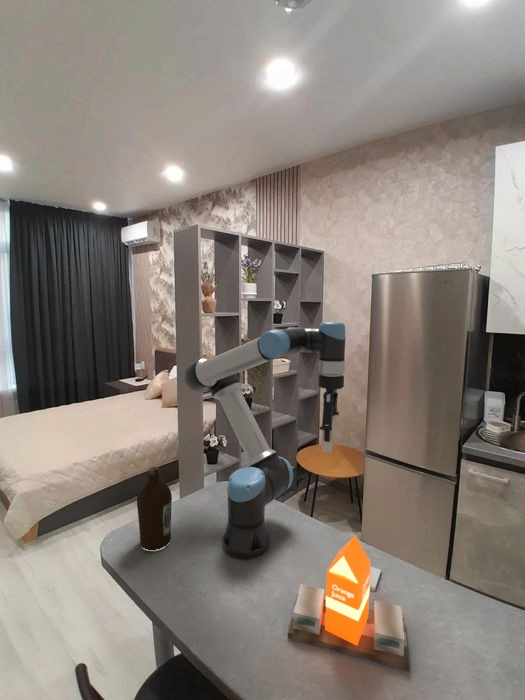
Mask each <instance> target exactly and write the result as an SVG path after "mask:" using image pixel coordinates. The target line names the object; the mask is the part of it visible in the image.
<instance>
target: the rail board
mask: <svg viewBox="0 0 525 700" xmlns="http://www.w3.org/2000/svg"><path fill="white" fill-rule="evenodd" d="M295 598H296V599H295V602H294V607H293V610H292V615H291V619H290V623H289V625H288V631H287V639H288V640H292V641H294V642H295V641H296V642H300V643H303V644H307V645H311V646H315V647H318V648H322V649H326V650H330V651H332V652H333V651H334V652H337V653H340V654H345V655H347V656H352V657H356V658H359V659H363V660H366V661H367V660H368V661H370V662H375V663H379V664H382V665H385V666H389V667H393V668H397V669H401V670H405V671H410V658H409V657H410V656H409V650H408V641H407V631H406V624H405V622H406V621H405V617H403V613H402V606H401V605H396V604H392V603H386V602H382V601H377V600H374V607H373V610H372V609H368V619H367V622H366V624H365V627H364V629H363V632H362V634H361V637H360V640H359V642H358V645H355V644H353V643H351V642H349V641H347V640H345V639H343V638H341V637H339V636H337V635H335V634H333V633H331V632H329V631H327V630H325V620H326V598H325V589H323V588H319V587H316V586H315V587H314V586H311V585H305V584H300V586H299V589H298V593H297V595H296V597H295Z"/></svg>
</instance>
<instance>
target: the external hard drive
mask: <svg viewBox="0 0 525 700" xmlns="http://www.w3.org/2000/svg"><path fill="white" fill-rule="evenodd" d="M381 575H382V569H380V568H376V567H374V566H371V565H370V590H369V591H372V592H376V590H377V587H378V584H379V581H380V578H381Z"/></svg>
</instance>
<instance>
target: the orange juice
mask: <svg viewBox="0 0 525 700" xmlns="http://www.w3.org/2000/svg"><path fill="white" fill-rule="evenodd" d="M371 563H372V562H371V561H370V559H369V557H368V556H367V554H366V552H365V549H363V547H362V545H361V543H360V541H359V539H358V538H357V536H356V535H354V536H353V537H352V538H351V539H349V541H348V542H347V543H346V544H345V545H344V546H343V547H342V548H341V549H340V550H339V551H338V552H337V554H336V556H335V557H334V558H333V560H332V562H331V563H330V565H329V567H328V568H327V571H326V590H325V591H326V592H325V593H326V594H325V600H326V620H325V630H327V631H329V632H331V633H333V634H335V635H337V636H339V637H341V638H343V639H345V640H347V641H349V642H351V643H353V644H355V645H358V642H359V640H360V637H361V634H362V632H363V629H364V627H365V624H366V622H367V619H368V610H369V609H370V608H369V604H370V603H369V602H370V591H371V590H370V566H371Z"/></svg>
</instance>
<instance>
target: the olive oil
mask: <svg viewBox="0 0 525 700" xmlns="http://www.w3.org/2000/svg"><path fill="white" fill-rule="evenodd" d="M159 469H160V467H158V466H152V467H149V468H148V473H147V478H148V480H147V481H146V483H144V485H143V486H142V487H141V488H140V489H139V491H138V494H137V497H136V506H137V518H138V526H139V527H138V528H139V529H138V530H139V541H140V543H139V544H140V547H141V546H142V547H143V548H145V549H148V550H156V549H160V548H162V547H164V546H166V545H167V544H168V543H169V542H170V540H172V505H173V504H172V503H173V502H172V500H173V499H172V498H173V496H172V491H171V489H170V487H169V485H167V483H165V482H164V481H162V480H161V479H160V472H159V471H160V470H159ZM170 543H171V542H170Z"/></svg>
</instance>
